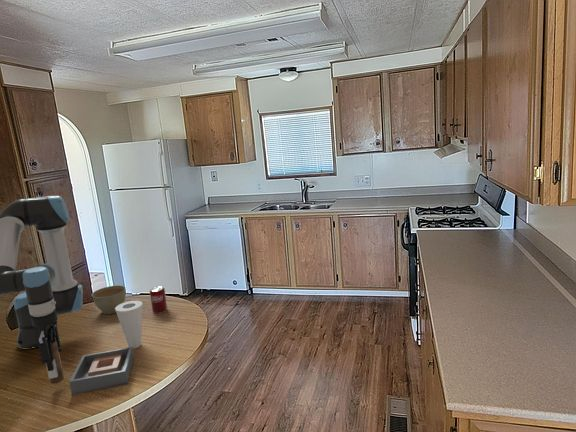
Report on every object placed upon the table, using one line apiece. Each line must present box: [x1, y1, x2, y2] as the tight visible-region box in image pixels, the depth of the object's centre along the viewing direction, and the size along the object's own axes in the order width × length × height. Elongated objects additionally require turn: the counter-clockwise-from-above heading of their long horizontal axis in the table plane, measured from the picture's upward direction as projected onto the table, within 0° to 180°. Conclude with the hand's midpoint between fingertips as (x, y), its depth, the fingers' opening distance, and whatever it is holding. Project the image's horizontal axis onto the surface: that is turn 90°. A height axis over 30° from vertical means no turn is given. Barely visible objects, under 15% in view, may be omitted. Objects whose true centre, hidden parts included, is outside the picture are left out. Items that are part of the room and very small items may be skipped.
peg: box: [49, 341, 64, 385], centre depth 138 cm, size 4×4×14 cm
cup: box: [115, 300, 143, 349], centre depth 165 cm, size 11×11×18 cm
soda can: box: [149, 286, 168, 315], centre depth 200 cm, size 7×7×12 cm
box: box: [69, 346, 135, 395], centre depth 145 cm, size 18×18×5 cm
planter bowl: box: [91, 285, 127, 315], centre depth 205 cm, size 16×16×11 cm
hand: (55, 373), depth 139 cm, fingers closed on peg, 4 cm apart
